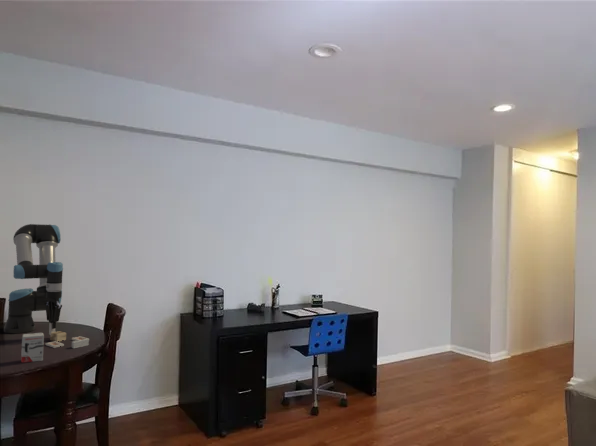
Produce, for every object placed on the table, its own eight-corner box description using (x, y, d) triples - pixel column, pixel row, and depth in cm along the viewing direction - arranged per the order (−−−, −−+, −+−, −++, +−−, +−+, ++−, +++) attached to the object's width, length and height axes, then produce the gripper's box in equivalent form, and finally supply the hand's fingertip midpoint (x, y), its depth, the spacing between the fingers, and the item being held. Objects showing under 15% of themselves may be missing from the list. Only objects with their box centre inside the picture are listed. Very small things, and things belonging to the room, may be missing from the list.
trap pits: (45, 345, 231) (45, 343, 231) (80, 338, 247) (80, 336, 247) (54, 347, 227) (54, 345, 227) (89, 340, 243) (89, 338, 243)
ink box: (21, 363, 202) (22, 336, 202) (20, 360, 206) (22, 334, 206) (43, 360, 206) (44, 334, 206) (42, 357, 210) (43, 332, 210)
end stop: (71, 347, 228) (71, 341, 228) (86, 344, 235) (86, 338, 235) (73, 348, 227) (74, 342, 227) (88, 345, 234) (88, 339, 234)
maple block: (50, 340, 241) (50, 332, 241) (59, 338, 245) (59, 331, 245) (57, 342, 238) (57, 334, 238) (66, 340, 242) (66, 332, 242)
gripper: (40, 290, 245) (38, 333, 245) (53, 292, 238) (51, 337, 238) (54, 288, 252) (52, 331, 251) (67, 291, 245) (65, 334, 244)
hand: (52, 334), depth 245 cm, fingers closed
